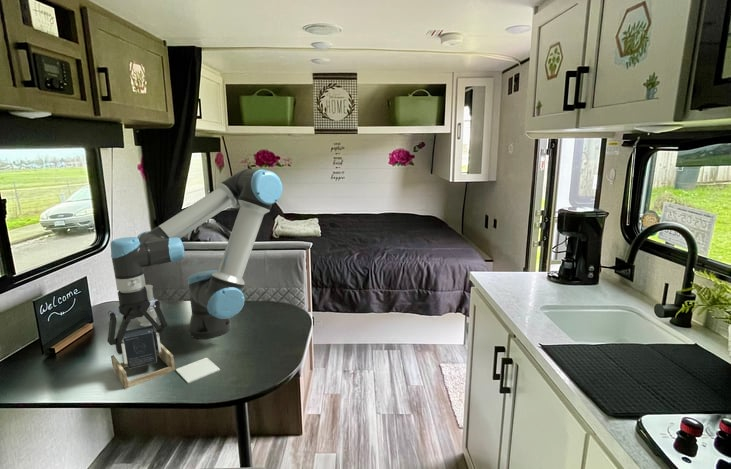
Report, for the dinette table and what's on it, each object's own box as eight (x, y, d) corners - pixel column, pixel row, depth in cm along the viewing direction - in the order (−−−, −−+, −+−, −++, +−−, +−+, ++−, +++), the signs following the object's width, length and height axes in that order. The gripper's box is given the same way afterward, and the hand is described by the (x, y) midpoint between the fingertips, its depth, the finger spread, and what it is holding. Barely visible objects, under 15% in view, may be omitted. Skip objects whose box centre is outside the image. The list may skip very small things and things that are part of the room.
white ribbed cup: (161, 321, 161) (156, 286, 158) (144, 328, 156) (139, 292, 152) (151, 317, 165) (147, 283, 162) (134, 324, 159) (129, 288, 156)
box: (157, 354, 130) (153, 324, 128) (156, 363, 125) (152, 332, 123) (129, 360, 127) (124, 330, 124) (128, 369, 122) (122, 337, 120)
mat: (175, 370, 126) (175, 369, 126) (206, 358, 133) (206, 357, 133) (187, 383, 119) (187, 382, 119) (220, 370, 126) (220, 369, 126)
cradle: (113, 370, 127) (110, 355, 126) (160, 353, 136) (158, 340, 135) (125, 388, 117) (123, 373, 116) (175, 369, 126) (173, 355, 125)
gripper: (92, 302, 110) (105, 374, 116) (173, 282, 125) (182, 347, 130) (86, 295, 116) (99, 365, 121) (165, 277, 130) (173, 340, 136)
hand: (142, 356), depth 126 cm, fingers closed on box, 9 cm apart
